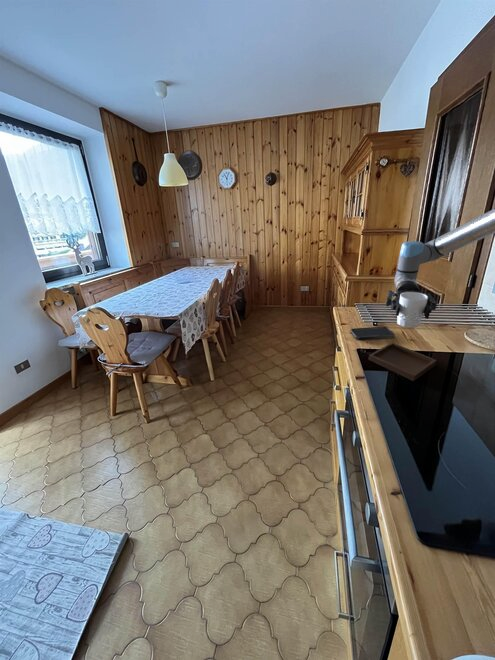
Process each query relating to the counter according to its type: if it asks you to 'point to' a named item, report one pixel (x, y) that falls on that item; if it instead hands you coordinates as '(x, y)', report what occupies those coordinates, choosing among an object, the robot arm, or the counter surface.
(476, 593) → the counter surface
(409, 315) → the white cup
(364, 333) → the phone
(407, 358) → the tray
